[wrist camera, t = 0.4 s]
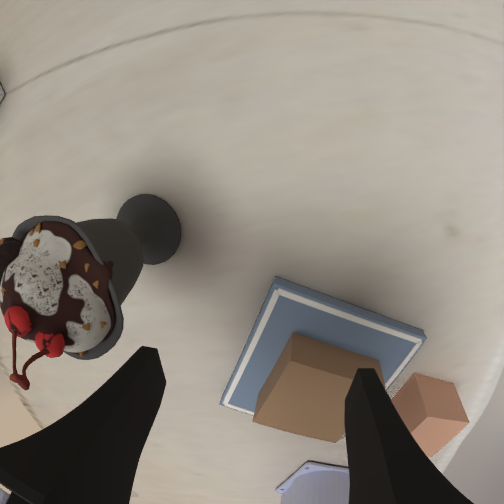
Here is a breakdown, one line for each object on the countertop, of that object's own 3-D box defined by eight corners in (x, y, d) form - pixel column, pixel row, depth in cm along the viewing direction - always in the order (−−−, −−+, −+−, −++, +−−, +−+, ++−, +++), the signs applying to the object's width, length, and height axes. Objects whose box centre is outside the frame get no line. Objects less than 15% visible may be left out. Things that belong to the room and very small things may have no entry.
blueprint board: (341, 430, 26) (343, 463, 22) (221, 396, 26) (211, 430, 22) (423, 330, 21) (439, 364, 17) (275, 276, 21) (269, 308, 17)
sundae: (208, 262, 21) (92, 445, 7) (127, 283, 22) (-8, 420, 8) (175, 167, 19) (-28, 229, 5) (95, 199, 20) (-85, 280, 6)
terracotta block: (421, 417, 24) (431, 456, 20) (381, 409, 24) (389, 452, 20) (452, 382, 22) (469, 422, 18) (413, 372, 22) (427, 416, 18)
